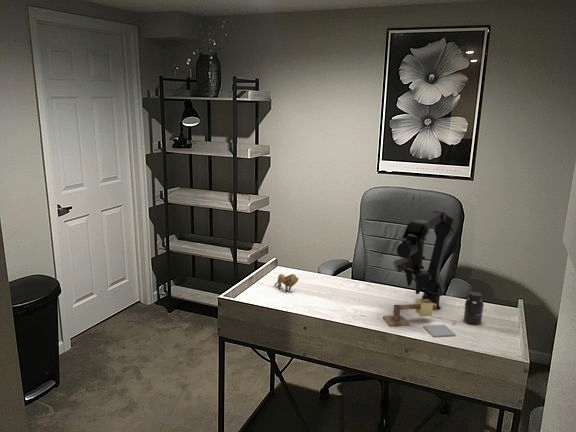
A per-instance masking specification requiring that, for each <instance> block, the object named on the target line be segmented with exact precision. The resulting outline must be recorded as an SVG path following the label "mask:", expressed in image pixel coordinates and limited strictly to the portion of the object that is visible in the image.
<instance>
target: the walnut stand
mask: <svg viewBox="0 0 576 432" xmlns="http://www.w3.org/2000/svg"><path fill="white" fill-rule="evenodd" d="M419 308H420V306H419V305H418V304H416V303H414V304H413V303H411V304H393V310H392V311H393V313H392V315H383V316H382V318H383V320H384V321H385V323H387V325H388V326H389V327H390V328H394V327H395V328H396V327H410V326H411V325H410V322H409V321H408V320H407V319H406V318H405V317H404V316H403V315H402V314H401V311H402V310H403V311H405V310H416V309H419ZM433 308H437V305H436V304H435V303H433Z"/></svg>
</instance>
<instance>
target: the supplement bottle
mask: <svg viewBox="0 0 576 432" xmlns="http://www.w3.org/2000/svg"><path fill="white" fill-rule="evenodd" d="M482 297H483V294H482V293H481V292H476V291H470V292H469V294H468V297H467V299H466V300H465V304H464V305H465V306H464V313H463V322H465V323H467V324H468V325H472V326H478V325H481V323H482V320H483V312H484V306H485V305H484V302H483V300H482V299H483V298H482Z"/></svg>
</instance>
